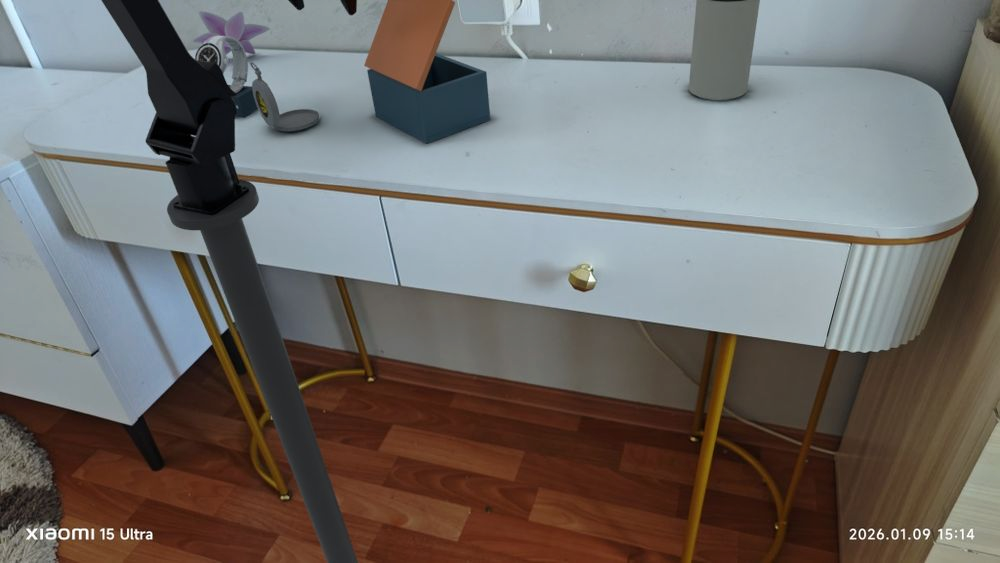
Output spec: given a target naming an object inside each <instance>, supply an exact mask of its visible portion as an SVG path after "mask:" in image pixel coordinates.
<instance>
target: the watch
mask: <svg viewBox="0 0 1000 563" xmlns="http://www.w3.org/2000/svg"><path fill="white" fill-rule="evenodd" d="M223 40H225V41H226V42H227V43H229V45H230V46H231V48H232V50H233V54H232V73H231V74H232V76H231V78H232V83H231V84H228V86H229V87H230V89H231V90H233V91H234V92H235V93H236V96H231V97H232V98H233V100H234V102H235V105H236V107H237V115H236V116H235V118H247V117H249V116H250V115H252V114H253V113H255V112H256V111H259V110H258V108H257V105H256V102H255V99H254V95H253V91H252V85H251V86H250V85H245V83H246V82H248V75H249V62H248V61H249V60H248V56H247V54H246V52H245V50H244V48H243V46H242V44H241V43H240V42H239V41H238V40H237V39H236V38H234V37H231V36H213V37H210V38H209V39H207V41H206V40H205V42H204V43H201V45H200V46H199V47H198V48H197V50H196V52H195V55H194V59H195V60H198V61H205V62H211V63H216V64H218V66H219V67H220V69H221V70H222V72H223V74H224V73H225V72H226V70H227V67H228V66H229V65H230V60H229V58H228V56H227V55H226V53H225V49H224V42H223ZM233 55H234V57H233Z"/></svg>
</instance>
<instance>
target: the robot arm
mask: <svg viewBox="0 0 1000 563" xmlns="http://www.w3.org/2000/svg"><path fill="white" fill-rule="evenodd" d="M100 1H101V2H102V4H103V5H104V7H105V9H106V10H107V12H108V13H109V15H110V16H111V18H112V19H113V21H114V23H115V24H116V26H117V27H118V29H119V30H120V32H121V34H122V35H123V37H124V38H125V40H126V42H127V43H128V45H129V46H130V48H131V49H132V51H133V52H134V54H135V55H136V56H137V58H138V60H139V62H140V63H141V65H142V66H143V68H144V70H145V73H146V74H145V75H146V85H147V86H146V87H147V94H148V97H149V99H150V102H151V104H152V106H153V108H154V110H155V114H154V117H153V119H152V121H151V124H150V127H149V130H148V133H147V134H146V138H145V143H146V145H147V146H148V147H149V149H150V150H152V152H153V153H154V154H155V155H158V156H165V157H167V158H169V159H168V160H166V161H165V165H166V168H167V170H168V173H169V176H170V179H171V180H172V184H173V186H174V189H175V191H176V194H177V195H178V196H179V200H178V201H176V202H174V203H173V207H174V208H176V209H181V210H186V211H191V212H196V213H201V214H206V215H215V214H217V213H218V212H220V211H221V210H223V209H224V208H226V207H227V206H229V205H230V204H231V203H233V202H234V201H236V200H237V199H239V198H240V197H242V196H243V195H244V194H246V193H247V192H249V188H248V187H247V186H241V185H238V184H239V179H240V178H239V176H238V173H237V169H236V167H235V164H234V161H233V157H232V155H231V154H232V153H234V152H235V151H236V117H235V116H236V115H237V107H236V105H235V102H234V100H233V98H232V97H231V96H236V93H235V92H234V91H233V90H231V89H230V87H229V86H228V85H229V84H228V82H227V80H226V78H225V75H224V73H223V72H222V70H221V69H220V67H219V66H218V64H216V63H211V62H205V61H198V60H195V57H193V56H192V54H190V52H189V51H188V49H187V47H186V46H185V43H184V42H183V41H182V39H181V37H180V34H179V33H178V31H177V30H176V28H175V26H174V25H173V23H172V21H171V19H170V17H169V16H168V14H167V13H166V10H164V7H163V6H162V4H161V2H160V0H100ZM287 1H288V2H289V3H290V4H291V5H292V6H293V7H294V8H295V9H296V10H297V11H302V10H303V9H304V8H305V1H304V0H287ZM339 1H340V3H341V5H342V6H343V8H344V10H345V11H346V12H347V14H348V15H349V16H354V15H355V14H356V13H357V9H358V5H357V4H358V0H339Z"/></svg>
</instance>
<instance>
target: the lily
mask: <svg viewBox="0 0 1000 563" xmlns="http://www.w3.org/2000/svg"><path fill="white" fill-rule="evenodd" d="M198 15H199V18H200V20H201V21H202V23H203V25H204V26H205V28H206V30H207V31H208V32H206V33H203V34H202V35H199V36H197V37H196V38H194V39H193V41H192V42H193V43H195V44H196V43H197V44H203V43H204V42H205V40H206V41H207V39H209V38H210V37H213V36H231V37H234V38H236V39H237V40H238V41H239V42H240V43H241V44H242V46H243V48H244V50H245V53H247V54H249V55H252V56H256V51H255V48H254V46H253V45H252V43H251V42H250V41H251V40H252V39H254V38H256V37H258V36H261V35H262V34H264V33H267V32H268V31H270V30H271V29H270V27H269V26H265V25H263V24H262V25H261V24H257V23H245V16H244V13H243V12H242V11H239V12H237V13H235V14H234V15H232V16H231V17H230V18H228V19H226V18H224V17H223V16H220V15H217V14H215V13H211V12H207V11H199V12H198ZM223 42H224V49H225V53H226V56H227V55H228V54H229V53H232V58H233V57H234V55H233V50H232V48H231V46H230V45H229V43H227V42H226V41H225V40H223Z"/></svg>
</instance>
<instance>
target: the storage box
mask: <svg viewBox="0 0 1000 563" xmlns="http://www.w3.org/2000/svg"><path fill="white" fill-rule="evenodd" d="M366 72H367V78H368V82H369V88H370V93H371V98H372V99H371V100H372V104H373V109H374V115H375V117H376V118H378V119H380V120H381V121H384V122H386V123H387V124H389V125H390V126H393V127H394V128H397V129H399V130H400V131H401V132H404V133H406V134H408V135H410V136H411V137H413V138H416V139H417V140H418V141H421V142H422V143H424V144H429V143H432V142H433V143H434V142H435V141H438V140H440V139H443V138H446V137H449V136H452V135H454V134H457V133H459V132H463V131H464V130H467V129H470V128H472V127H475V126H478V125H480V124H483V123H486V122H489V121H491V111H490V97H489V88H488V87H489V85H488V74H487V71H486V70H483V69H480V68H478V67H474V66H473V65H469V64H467V63H465V62H461V61H458V60H456V59H453V58H450V57H448V56H445V55H442V54H440V53H437V52H436V54H435V57H434V59H433V62H432V64H431V67H430V70H429V72H428V75H427V77H426V80H425V82H424V85H423V88H422V90H421V91H419V90H417V89H415V88H412V87H410V86H408V85H406V84H404V83H401V82H399V81H397V80H395V79H392V78H390V77H388V76H386V75H384V74H381V73H379V72H377V71H375V70H372V69H370V68H368V69H367V70H366Z"/></svg>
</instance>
